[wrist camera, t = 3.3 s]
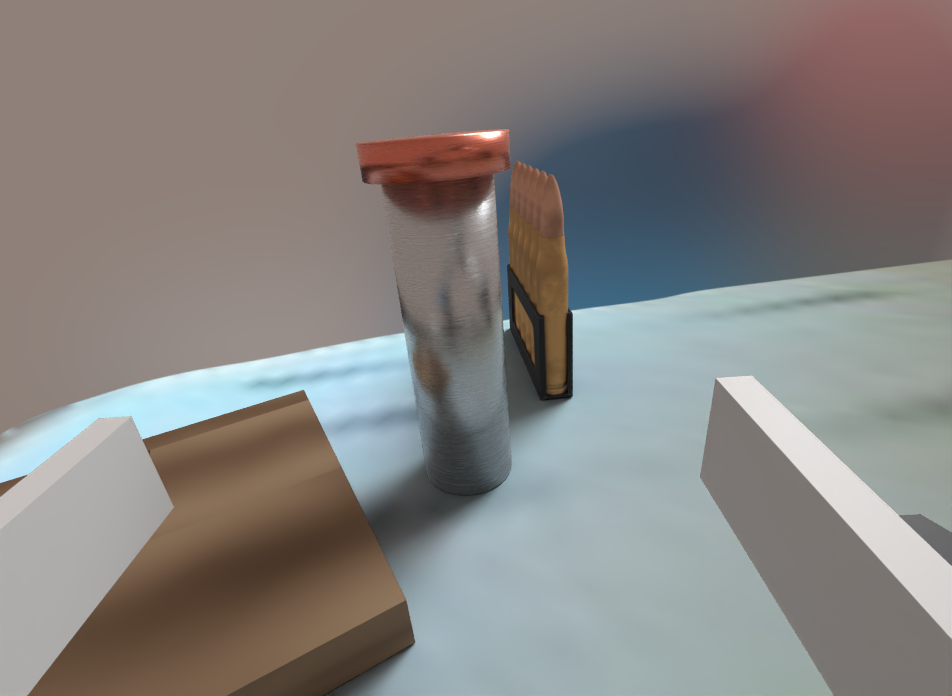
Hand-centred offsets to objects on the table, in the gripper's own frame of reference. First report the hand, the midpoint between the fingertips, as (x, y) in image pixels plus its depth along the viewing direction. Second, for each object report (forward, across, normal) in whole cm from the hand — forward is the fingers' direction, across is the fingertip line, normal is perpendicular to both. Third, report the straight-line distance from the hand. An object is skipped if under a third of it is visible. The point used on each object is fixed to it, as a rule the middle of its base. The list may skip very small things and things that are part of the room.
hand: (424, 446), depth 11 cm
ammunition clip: (+19, +4, -8) cm, 22 cm away
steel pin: (+9, 0, -8) cm, 12 cm away
